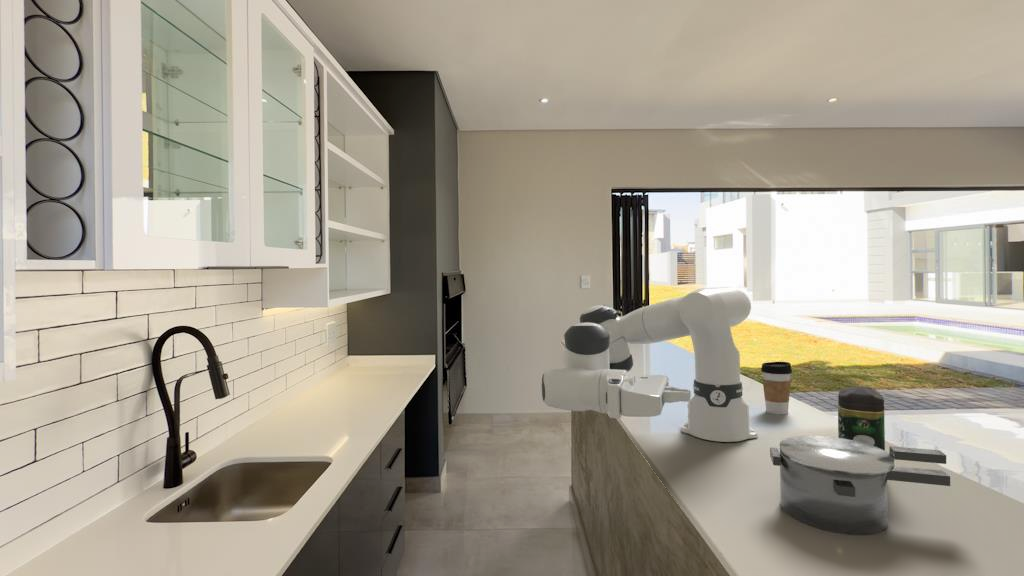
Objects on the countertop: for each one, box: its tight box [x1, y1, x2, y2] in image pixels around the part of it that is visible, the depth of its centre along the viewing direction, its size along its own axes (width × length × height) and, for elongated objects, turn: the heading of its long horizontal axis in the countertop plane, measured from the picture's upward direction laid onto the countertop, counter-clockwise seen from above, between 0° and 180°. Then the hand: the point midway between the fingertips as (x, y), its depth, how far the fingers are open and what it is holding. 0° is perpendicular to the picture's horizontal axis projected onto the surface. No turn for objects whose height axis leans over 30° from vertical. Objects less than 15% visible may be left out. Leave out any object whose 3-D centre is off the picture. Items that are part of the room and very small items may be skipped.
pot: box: [769, 446, 951, 536], centre depth 89 cm, size 22×26×10 cm
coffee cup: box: [760, 361, 793, 415], centre depth 154 cm, size 8×8×15 cm
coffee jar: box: [837, 385, 886, 451], centre depth 104 cm, size 10×8×19 cm
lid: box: [779, 435, 947, 475], centre depth 88 cm, size 17×24×2 cm
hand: (690, 395), depth 98 cm, fingers closed
